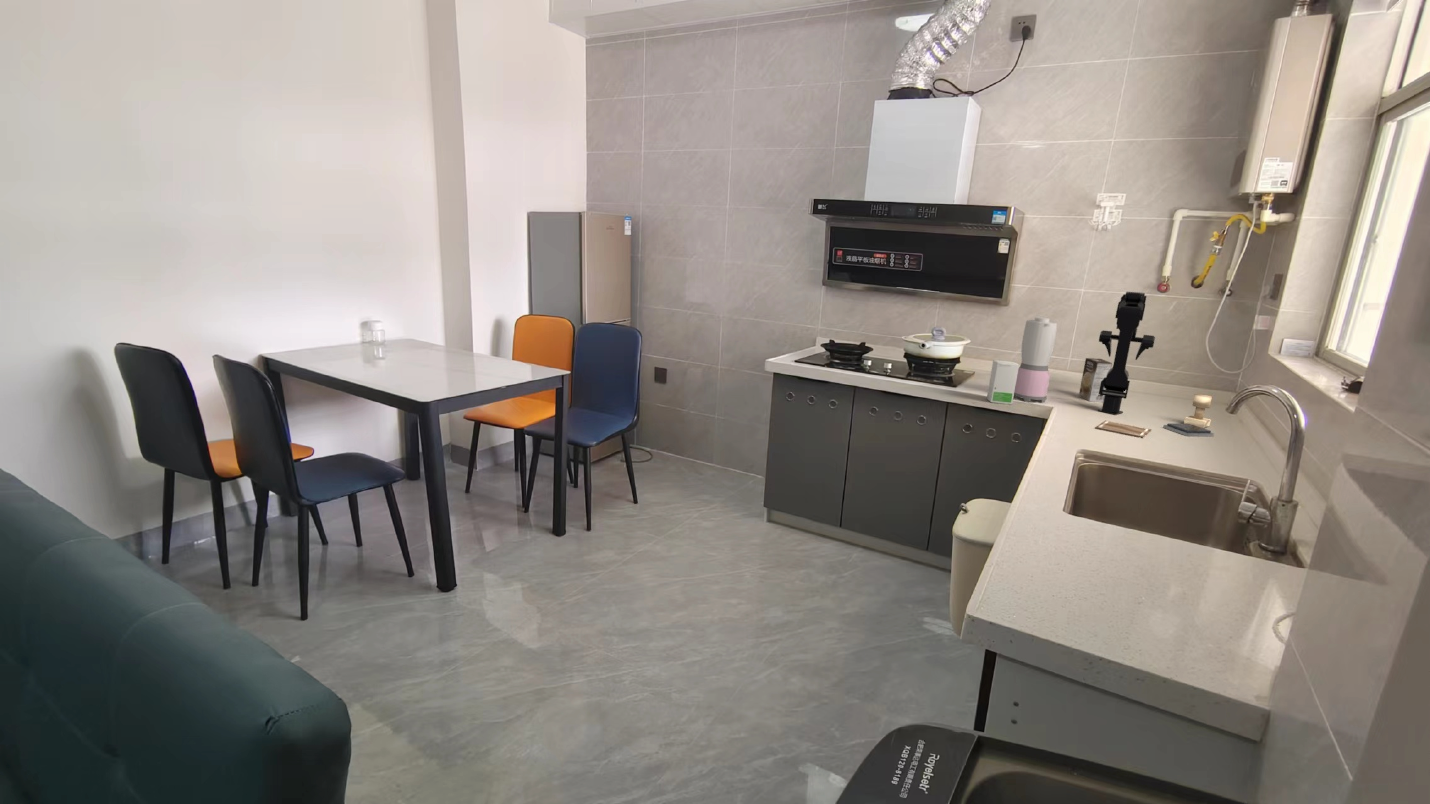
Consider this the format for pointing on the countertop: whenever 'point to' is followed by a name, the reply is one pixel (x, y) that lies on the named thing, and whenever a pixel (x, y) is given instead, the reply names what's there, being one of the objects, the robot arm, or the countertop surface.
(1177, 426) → the ink pad
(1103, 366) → the coffee box
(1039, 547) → the countertop surface
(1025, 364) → the blender
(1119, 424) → the stamp board
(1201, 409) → the rubber stamp
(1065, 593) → the countertop surface
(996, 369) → the skincare box
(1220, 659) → the countertop surface
